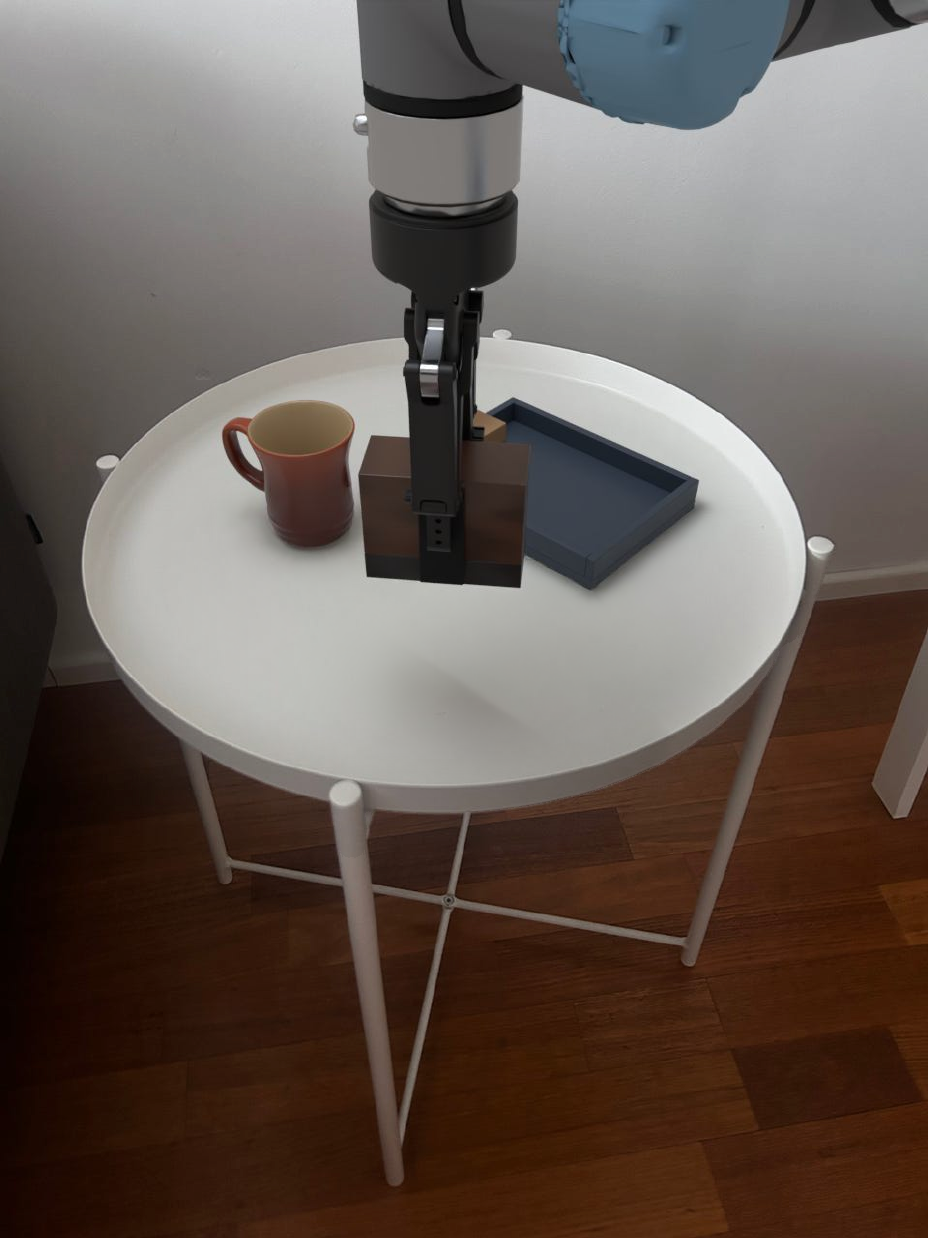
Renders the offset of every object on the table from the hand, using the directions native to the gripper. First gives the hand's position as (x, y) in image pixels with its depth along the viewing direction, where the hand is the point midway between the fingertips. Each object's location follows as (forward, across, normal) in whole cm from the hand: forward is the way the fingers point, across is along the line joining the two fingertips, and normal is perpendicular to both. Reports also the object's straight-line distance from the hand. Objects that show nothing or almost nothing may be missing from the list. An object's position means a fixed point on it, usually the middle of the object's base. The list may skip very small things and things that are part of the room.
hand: (447, 554), depth 66 cm
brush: (+1, 0, 0) cm, 1 cm away
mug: (+13, -19, -16) cm, 28 cm away
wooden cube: (+12, -29, -1) cm, 31 cm away
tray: (+13, -25, +6) cm, 29 cm away
